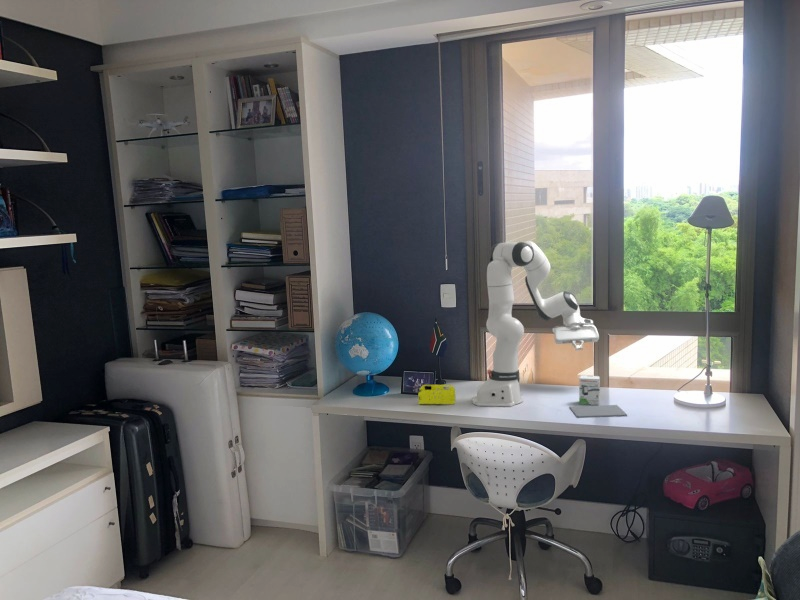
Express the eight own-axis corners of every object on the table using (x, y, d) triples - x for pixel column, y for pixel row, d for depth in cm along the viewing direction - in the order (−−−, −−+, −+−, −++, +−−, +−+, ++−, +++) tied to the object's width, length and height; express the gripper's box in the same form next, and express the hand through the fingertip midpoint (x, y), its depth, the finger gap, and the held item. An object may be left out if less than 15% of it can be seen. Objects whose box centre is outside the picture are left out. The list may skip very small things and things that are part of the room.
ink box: (578, 404, 279) (578, 377, 278) (579, 401, 284) (579, 375, 282) (599, 405, 276) (599, 378, 275) (600, 402, 281) (599, 375, 280)
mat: (577, 417, 261) (577, 416, 260) (569, 407, 274) (569, 406, 274) (627, 415, 260) (627, 414, 260) (616, 406, 274) (616, 404, 274)
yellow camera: (455, 402, 291) (454, 384, 290) (454, 406, 286) (453, 387, 285) (420, 402, 295) (420, 384, 294) (418, 405, 289) (417, 387, 288)
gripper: (552, 322, 302) (557, 346, 294) (596, 320, 301) (602, 344, 293) (550, 330, 307) (555, 354, 299) (594, 327, 306) (600, 352, 298)
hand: (579, 349), depth 296 cm, fingers closed
